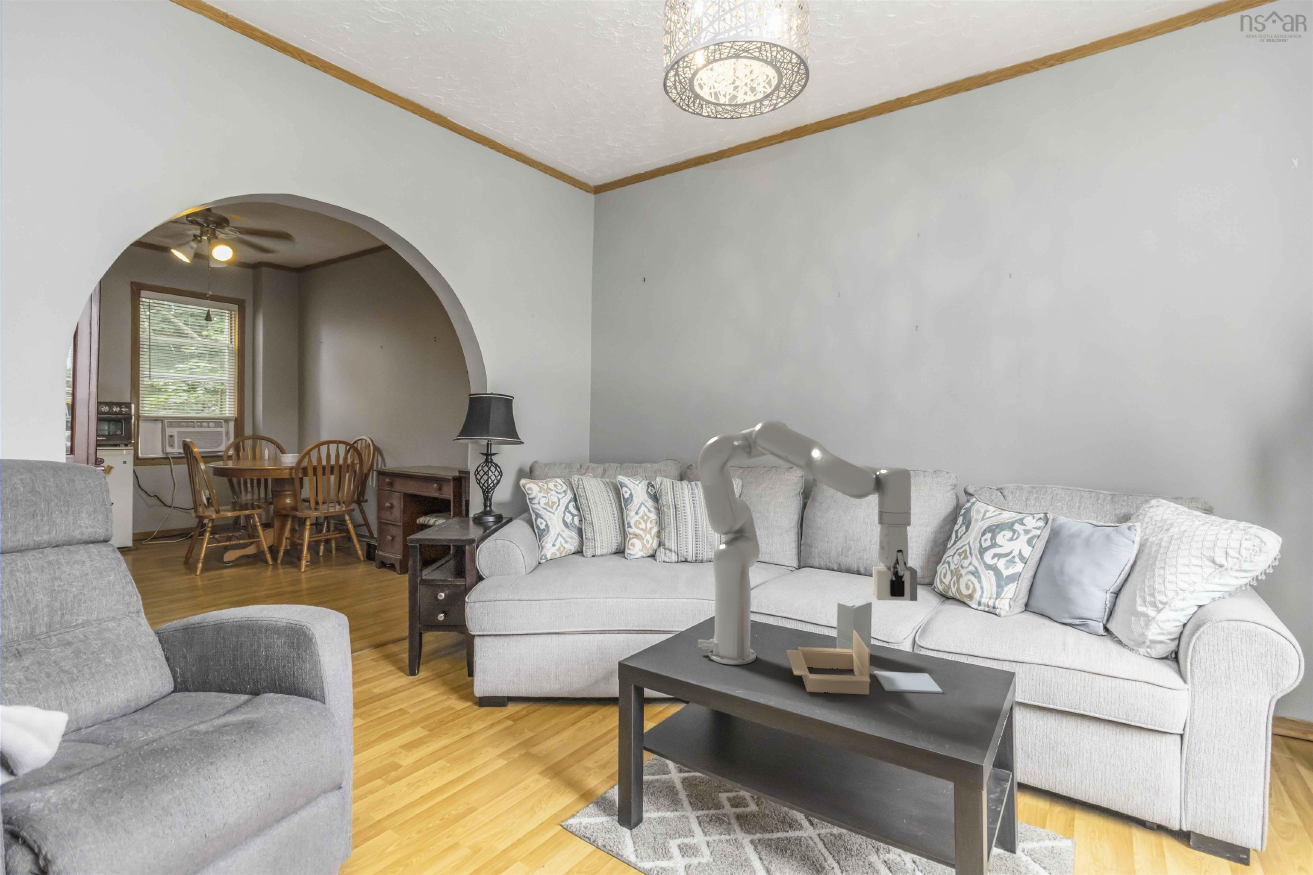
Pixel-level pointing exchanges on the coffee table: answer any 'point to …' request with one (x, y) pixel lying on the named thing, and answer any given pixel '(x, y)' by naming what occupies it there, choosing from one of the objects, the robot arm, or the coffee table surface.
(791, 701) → the coffee table surface
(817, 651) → the carton
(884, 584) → the box
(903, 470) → the robot arm
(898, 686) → the felt mat
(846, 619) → the skincare box
